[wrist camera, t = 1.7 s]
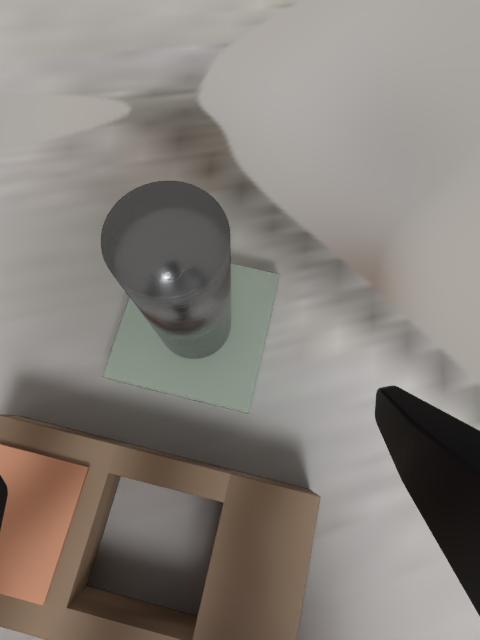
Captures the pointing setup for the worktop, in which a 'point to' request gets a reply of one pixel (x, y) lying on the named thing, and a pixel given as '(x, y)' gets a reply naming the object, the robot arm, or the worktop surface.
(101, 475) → the brown slotted block
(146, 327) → the pale green square plate
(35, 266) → the worktop surface
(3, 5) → the worktop surface
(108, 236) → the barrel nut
